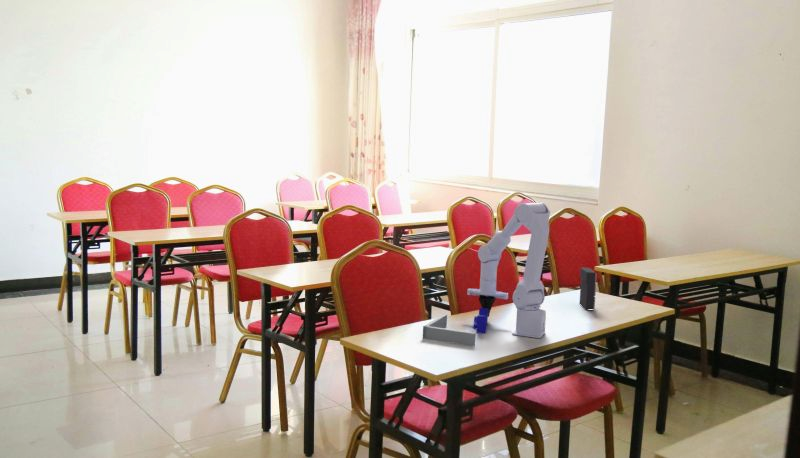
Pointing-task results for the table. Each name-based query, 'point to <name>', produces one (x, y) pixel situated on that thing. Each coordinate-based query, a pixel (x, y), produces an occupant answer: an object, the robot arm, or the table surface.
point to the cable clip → (481, 321)
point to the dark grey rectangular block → (587, 288)
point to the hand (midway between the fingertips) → (486, 316)
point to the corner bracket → (447, 333)
